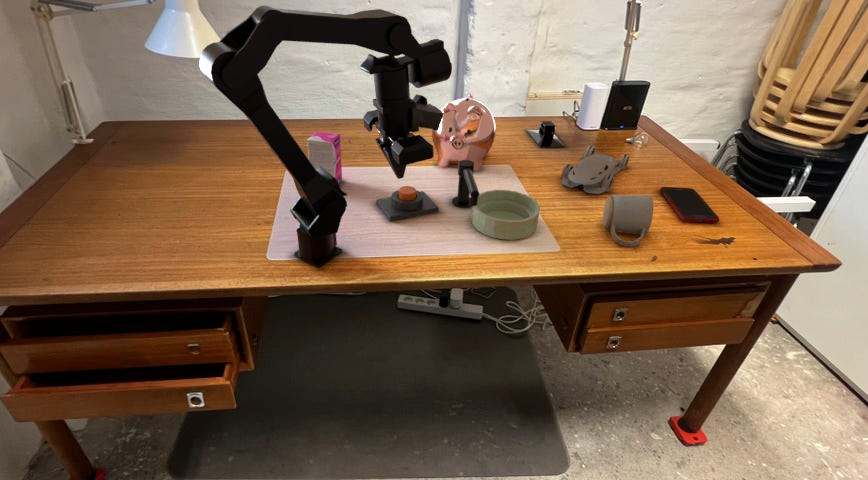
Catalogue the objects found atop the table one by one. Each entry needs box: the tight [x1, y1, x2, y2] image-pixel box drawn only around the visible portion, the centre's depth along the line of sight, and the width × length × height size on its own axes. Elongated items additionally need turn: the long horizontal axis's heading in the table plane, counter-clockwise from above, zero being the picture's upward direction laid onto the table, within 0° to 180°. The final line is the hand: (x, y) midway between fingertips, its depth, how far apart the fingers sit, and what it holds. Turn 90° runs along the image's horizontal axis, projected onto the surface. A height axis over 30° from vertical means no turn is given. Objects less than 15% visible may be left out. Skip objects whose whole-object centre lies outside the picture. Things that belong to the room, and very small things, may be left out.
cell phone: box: [659, 186, 720, 224], centre depth 112 cm, size 8×15×1 cm, turn 177°
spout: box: [457, 160, 480, 206], centre depth 102 cm, size 14×3×3 cm, turn 4°
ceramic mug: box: [602, 194, 654, 248], centre depth 100 cm, size 11×8×8 cm
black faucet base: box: [451, 175, 472, 209], centre depth 109 cm, size 5×5×6 cm
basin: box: [470, 189, 541, 241], centre depth 103 cm, size 13×13×4 cm
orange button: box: [398, 185, 417, 201], centre depth 106 cm, size 4×4×2 cm
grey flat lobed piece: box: [561, 145, 630, 195], centre depth 122 cm, size 11×24×5 cm, turn 146°
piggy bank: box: [431, 93, 497, 172], centre depth 124 cm, size 15×18×16 cm
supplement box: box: [306, 130, 343, 185], centre depth 113 cm, size 6×6×12 cm
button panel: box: [375, 189, 439, 222], centre depth 107 cm, size 11×8×3 cm
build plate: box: [526, 120, 566, 149], centre depth 141 cm, size 12×7×5 cm, turn 7°
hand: (400, 177), depth 94 cm, fingers closed
